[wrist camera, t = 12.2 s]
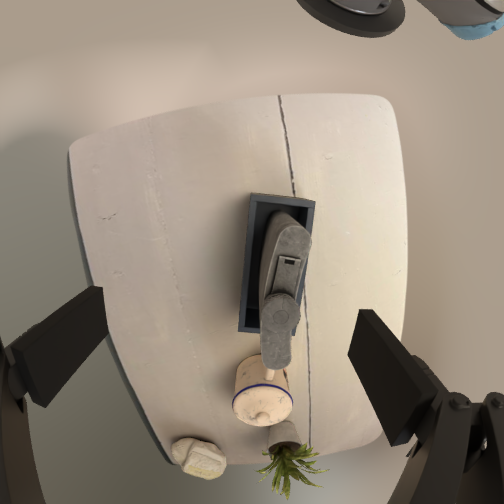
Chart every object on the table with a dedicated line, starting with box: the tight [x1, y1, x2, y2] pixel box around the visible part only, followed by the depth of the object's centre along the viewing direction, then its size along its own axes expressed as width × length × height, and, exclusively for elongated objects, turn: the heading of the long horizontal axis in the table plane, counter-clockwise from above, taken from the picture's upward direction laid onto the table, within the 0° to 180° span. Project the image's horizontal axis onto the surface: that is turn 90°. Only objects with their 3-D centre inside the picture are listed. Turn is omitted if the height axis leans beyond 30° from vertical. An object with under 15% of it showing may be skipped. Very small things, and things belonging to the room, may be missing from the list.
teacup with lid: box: [232, 355, 293, 426], centre depth 39 cm, size 12×9×12 cm
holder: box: [238, 193, 315, 336], centre depth 37 cm, size 18×8×7 cm, turn 174°
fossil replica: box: [171, 438, 226, 480], centre depth 47 cm, size 12×8×10 cm
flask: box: [258, 209, 312, 370], centre depth 31 cm, size 4×14×18 cm, turn 174°
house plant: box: [257, 421, 327, 499], centre depth 41 cm, size 14×14×16 cm
